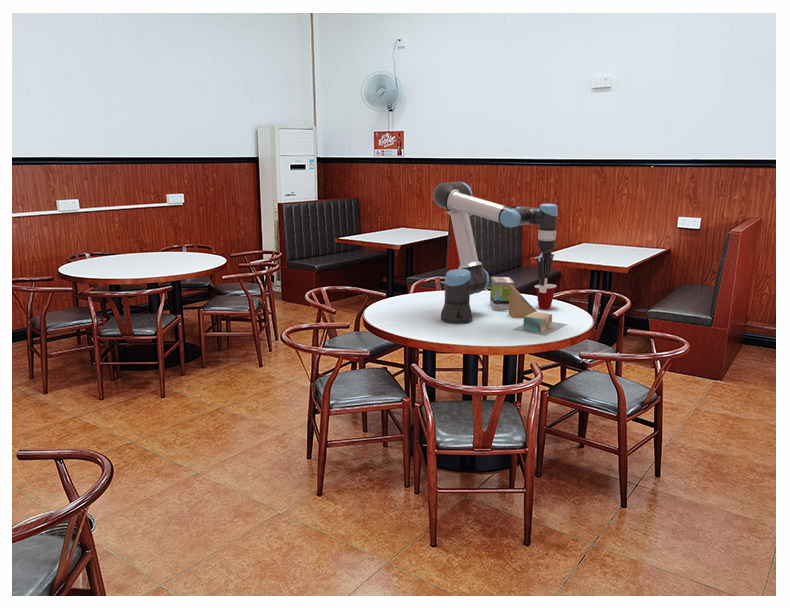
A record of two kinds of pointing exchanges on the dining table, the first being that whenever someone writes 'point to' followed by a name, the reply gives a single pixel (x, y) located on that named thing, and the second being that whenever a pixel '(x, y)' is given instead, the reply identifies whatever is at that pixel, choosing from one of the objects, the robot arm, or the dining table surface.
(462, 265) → the robot arm
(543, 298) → the plastic cup
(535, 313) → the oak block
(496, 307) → the tea box
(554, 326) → the grey mat
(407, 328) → the dining table surface
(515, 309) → the sandwich container
